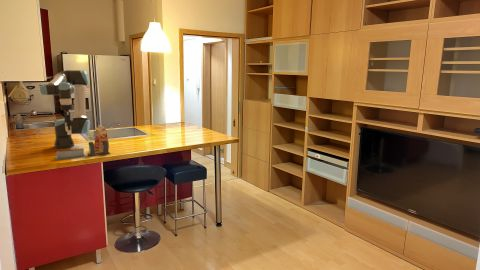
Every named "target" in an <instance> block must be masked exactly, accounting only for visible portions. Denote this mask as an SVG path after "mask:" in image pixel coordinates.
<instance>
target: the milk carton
mask: <svg viewBox="0 0 480 270" xmlns="http://www.w3.org/2000/svg"><path fill="white" fill-rule="evenodd" d="M94 136H95V137H94V148H95V151H103V143H102V141H107V142H108V150H109V149H110V142H109V136H108V132H107V129H106V128H105V127H104V126H102V125H99V124H98V126H97V127H96V128H95V135H94Z"/></svg>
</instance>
